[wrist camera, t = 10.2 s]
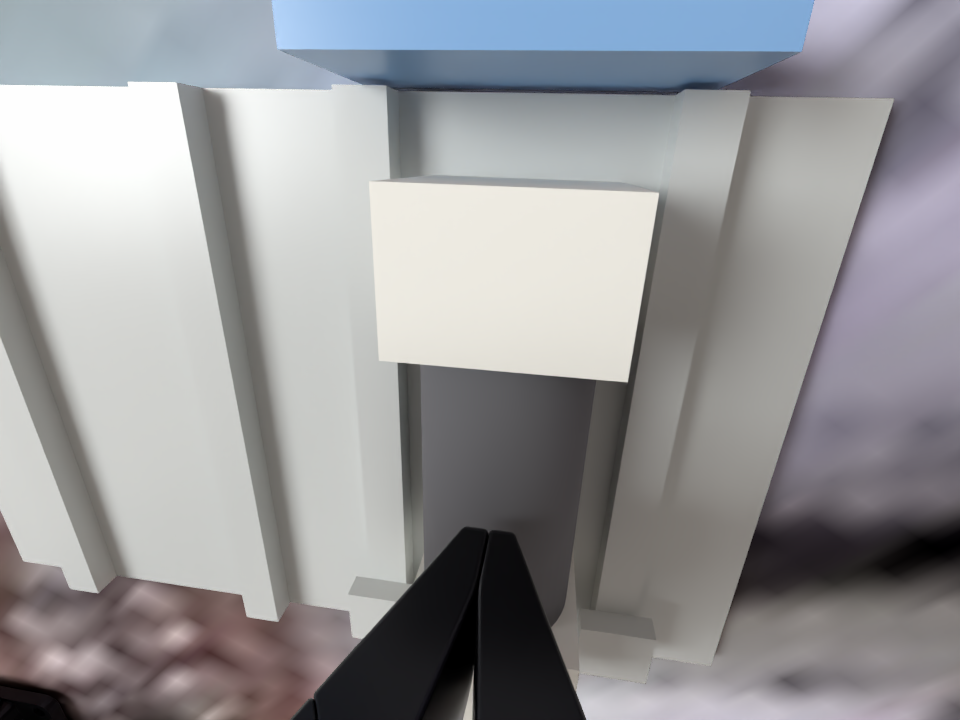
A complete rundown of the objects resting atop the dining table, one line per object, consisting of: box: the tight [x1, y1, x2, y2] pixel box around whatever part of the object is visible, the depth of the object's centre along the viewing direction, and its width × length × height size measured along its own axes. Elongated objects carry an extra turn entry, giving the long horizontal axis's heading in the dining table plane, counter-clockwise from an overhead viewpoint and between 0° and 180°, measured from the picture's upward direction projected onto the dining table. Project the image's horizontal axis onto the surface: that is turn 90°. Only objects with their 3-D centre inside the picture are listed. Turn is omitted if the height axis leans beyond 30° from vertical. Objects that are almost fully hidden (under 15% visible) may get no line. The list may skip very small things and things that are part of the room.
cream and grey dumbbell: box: [369, 175, 659, 720], centre depth 10 cm, size 11×4×4 cm, turn 178°
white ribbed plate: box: [0, 0, 894, 684], centre depth 11 cm, size 15×22×3 cm
